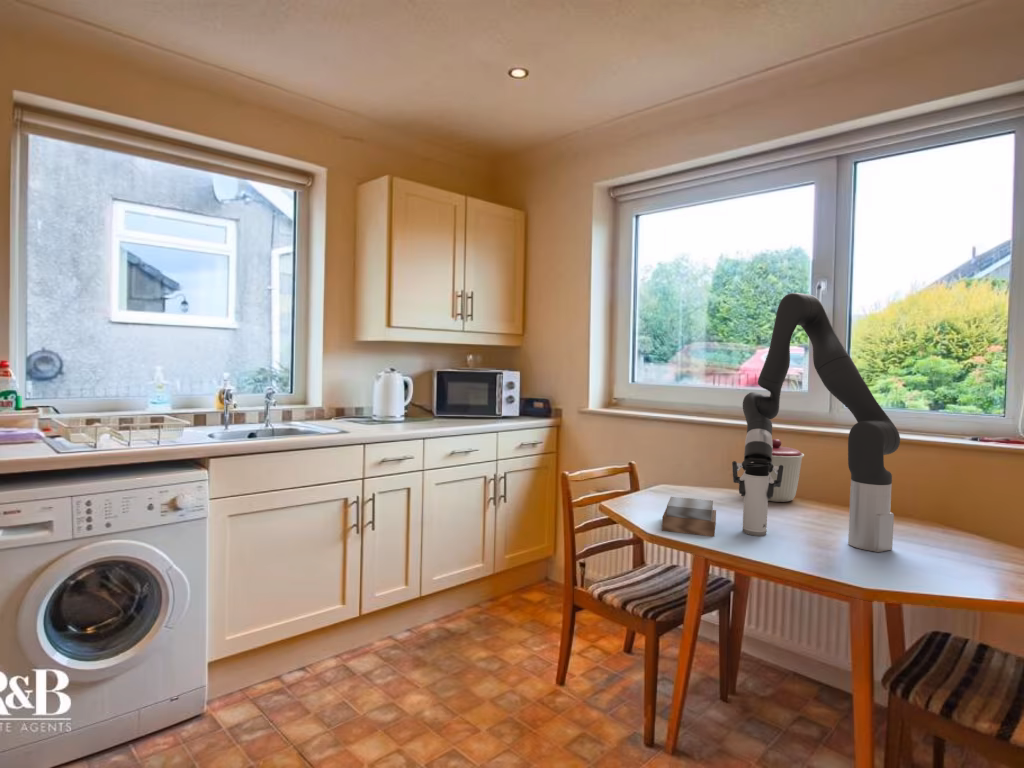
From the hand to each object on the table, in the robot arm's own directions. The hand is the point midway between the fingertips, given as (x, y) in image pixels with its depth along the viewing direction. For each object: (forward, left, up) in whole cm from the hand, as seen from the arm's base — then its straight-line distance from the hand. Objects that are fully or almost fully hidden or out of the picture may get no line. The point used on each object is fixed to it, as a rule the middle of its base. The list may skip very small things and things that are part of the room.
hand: (755, 495), depth 169 cm
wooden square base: (+13, +12, -11) cm, 21 cm away
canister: (+28, -41, -11) cm, 51 cm away
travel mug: (+1, -1, -11) cm, 11 cm away
